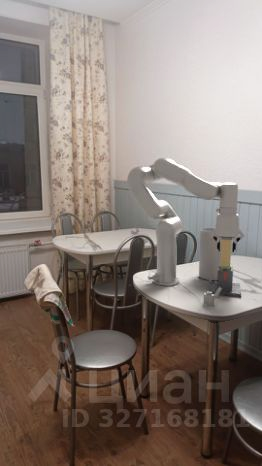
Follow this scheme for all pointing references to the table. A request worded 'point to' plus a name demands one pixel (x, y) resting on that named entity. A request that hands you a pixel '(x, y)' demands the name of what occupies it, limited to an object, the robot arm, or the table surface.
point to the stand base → (225, 283)
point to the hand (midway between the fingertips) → (226, 250)
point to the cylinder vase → (209, 255)
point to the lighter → (211, 297)
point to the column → (226, 252)
